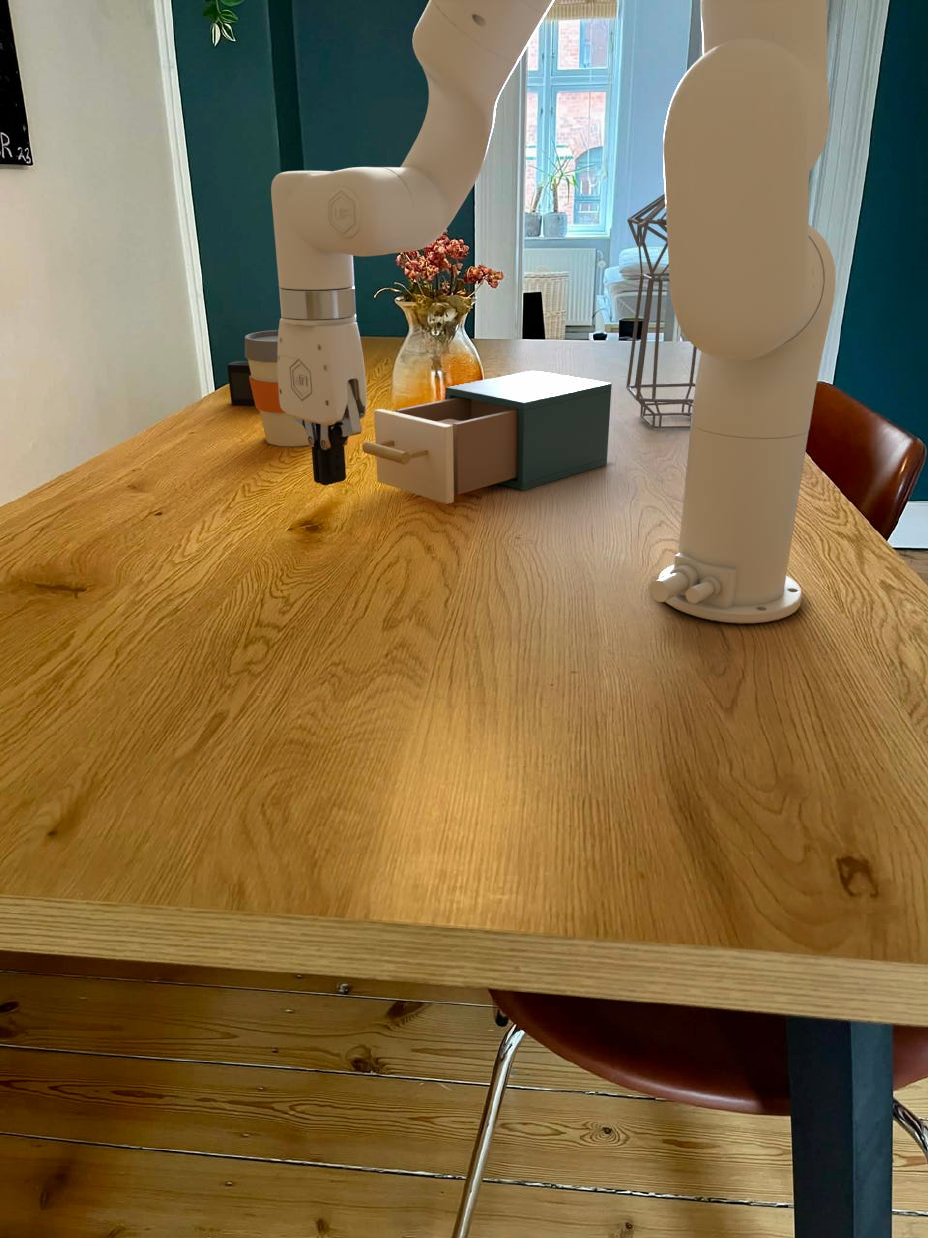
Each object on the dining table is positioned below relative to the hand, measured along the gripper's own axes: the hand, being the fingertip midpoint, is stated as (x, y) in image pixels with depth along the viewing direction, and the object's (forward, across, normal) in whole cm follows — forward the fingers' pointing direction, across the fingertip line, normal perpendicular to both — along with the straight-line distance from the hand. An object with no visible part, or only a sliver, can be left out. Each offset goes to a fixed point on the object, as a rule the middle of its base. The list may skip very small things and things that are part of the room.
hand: (330, 481), depth 100 cm
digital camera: (+5, -60, +29) cm, 67 cm away
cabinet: (+5, 0, +32) cm, 32 cm away
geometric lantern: (+5, -1, +67) cm, 67 cm away
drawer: (+4, 0, +17) cm, 18 cm away
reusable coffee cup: (+5, -35, +19) cm, 40 cm away
